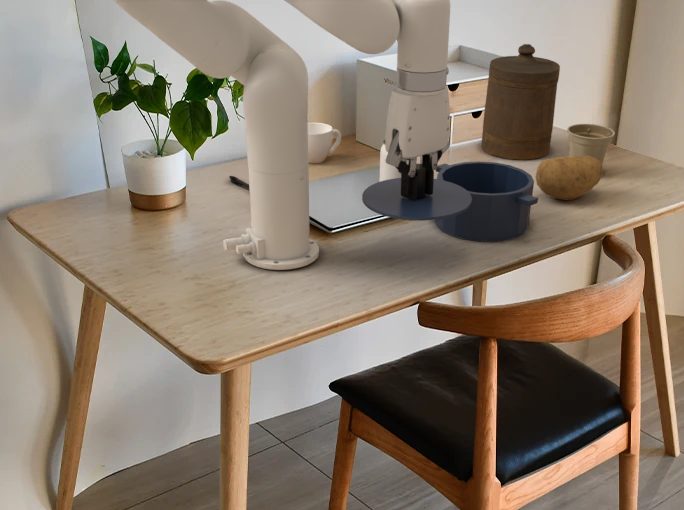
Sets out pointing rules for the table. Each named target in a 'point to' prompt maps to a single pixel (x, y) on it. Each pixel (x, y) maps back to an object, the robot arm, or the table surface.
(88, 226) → the table surface
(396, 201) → the lid
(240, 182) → the pen
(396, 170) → the can
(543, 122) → the wooden container
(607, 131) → the flower pot
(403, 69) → the robot arm
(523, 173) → the pot
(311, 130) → the cup
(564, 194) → the potato
